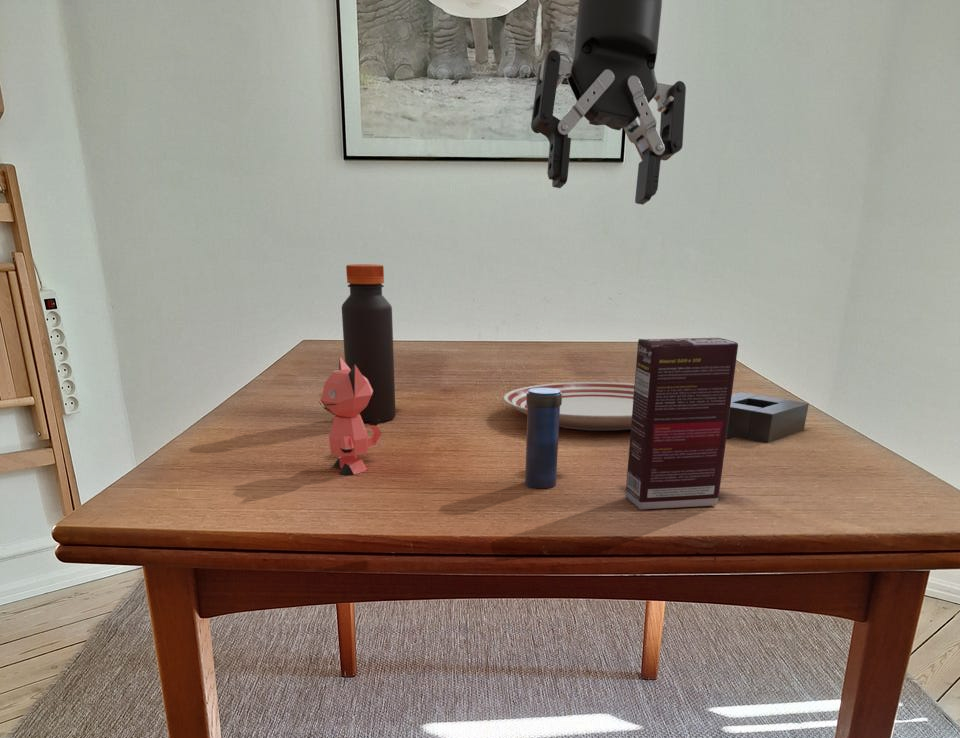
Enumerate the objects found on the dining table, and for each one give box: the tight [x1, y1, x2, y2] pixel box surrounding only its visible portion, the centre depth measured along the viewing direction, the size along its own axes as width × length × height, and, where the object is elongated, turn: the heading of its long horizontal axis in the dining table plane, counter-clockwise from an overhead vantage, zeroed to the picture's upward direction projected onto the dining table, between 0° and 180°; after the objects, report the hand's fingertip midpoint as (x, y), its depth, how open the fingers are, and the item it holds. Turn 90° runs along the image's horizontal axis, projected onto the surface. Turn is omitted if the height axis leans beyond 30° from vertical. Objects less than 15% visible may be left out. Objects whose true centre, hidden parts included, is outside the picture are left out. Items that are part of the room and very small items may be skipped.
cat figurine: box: [318, 356, 383, 476], centre depth 94 cm, size 7×7×12 cm
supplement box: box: [625, 337, 739, 511], centre depth 83 cm, size 9×5×16 cm, turn 100°
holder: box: [726, 391, 810, 444], centre depth 111 cm, size 10×10×4 cm
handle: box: [524, 388, 562, 489], centre depth 90 cm, size 4×4×10 cm
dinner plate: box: [503, 381, 635, 432], centre depth 121 cm, size 27×27×3 cm
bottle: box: [341, 263, 396, 424], centre depth 115 cm, size 7×7×20 cm
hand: (602, 193), depth 79 cm, fingers open, 8 cm apart
